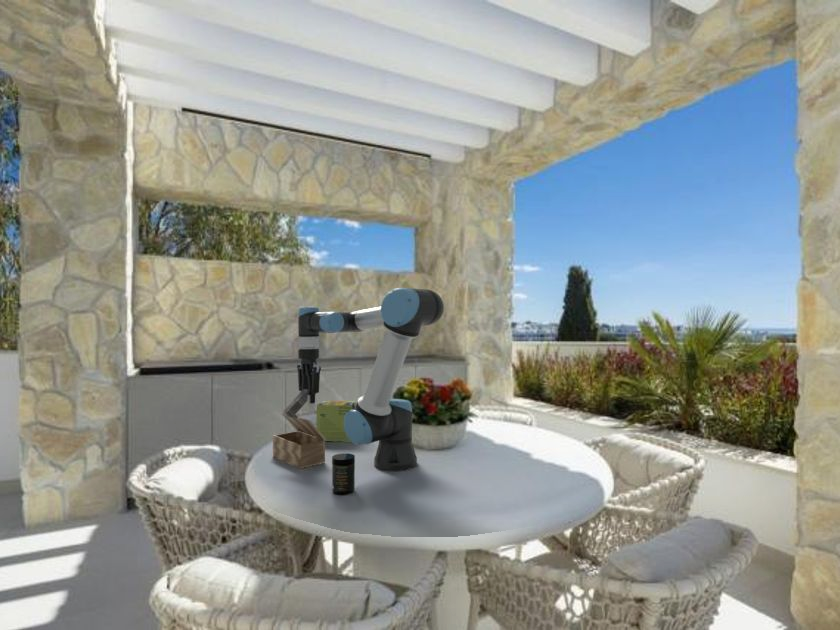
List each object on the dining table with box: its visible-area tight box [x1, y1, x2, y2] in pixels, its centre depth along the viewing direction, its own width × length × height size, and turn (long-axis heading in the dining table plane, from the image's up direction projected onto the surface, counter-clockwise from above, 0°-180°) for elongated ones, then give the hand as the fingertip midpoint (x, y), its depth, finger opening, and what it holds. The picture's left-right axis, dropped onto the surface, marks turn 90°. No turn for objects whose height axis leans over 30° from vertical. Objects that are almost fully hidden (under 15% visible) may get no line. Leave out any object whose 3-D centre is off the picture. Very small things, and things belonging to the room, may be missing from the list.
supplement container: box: [331, 452, 356, 496], centre depth 141 cm, size 7×7×10 cm
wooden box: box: [272, 430, 326, 470], centre depth 173 cm, size 20×10×8 cm, turn 43°
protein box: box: [315, 400, 357, 443], centre depth 203 cm, size 10×15×16 cm
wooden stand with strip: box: [281, 389, 326, 440], centre depth 175 cm, size 20×14×11 cm
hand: (308, 411), depth 176 cm, fingers closed on wooden stand with strip, 3 cm apart
